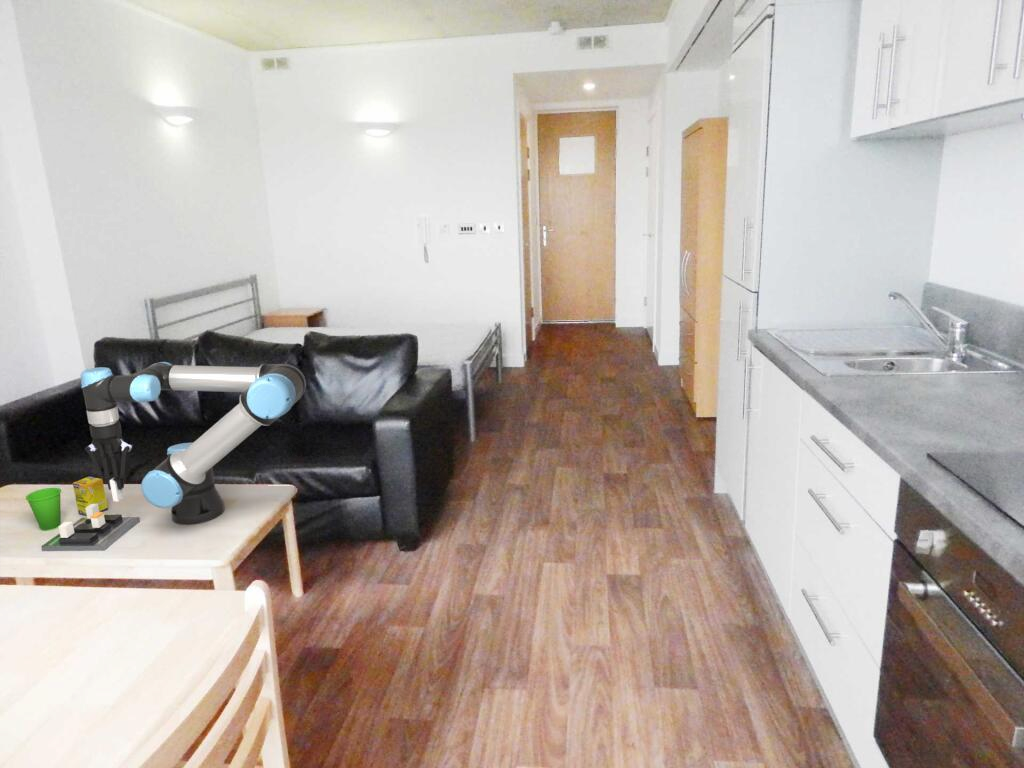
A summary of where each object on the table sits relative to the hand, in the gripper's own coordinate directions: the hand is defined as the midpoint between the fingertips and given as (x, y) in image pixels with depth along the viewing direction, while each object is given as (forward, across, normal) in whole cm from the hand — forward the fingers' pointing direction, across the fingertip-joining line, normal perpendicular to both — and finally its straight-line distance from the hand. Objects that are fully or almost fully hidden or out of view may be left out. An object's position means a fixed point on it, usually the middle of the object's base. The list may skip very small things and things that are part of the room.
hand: (118, 499), depth 197 cm
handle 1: (+8, +13, +6) cm, 16 cm away
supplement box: (+12, +20, -16) cm, 28 cm away
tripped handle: (+8, +7, 0) cm, 11 cm away
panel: (+12, +10, 0) cm, 15 cm away
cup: (+12, +27, -6) cm, 30 cm away
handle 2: (+8, +13, -6) cm, 16 cm away
